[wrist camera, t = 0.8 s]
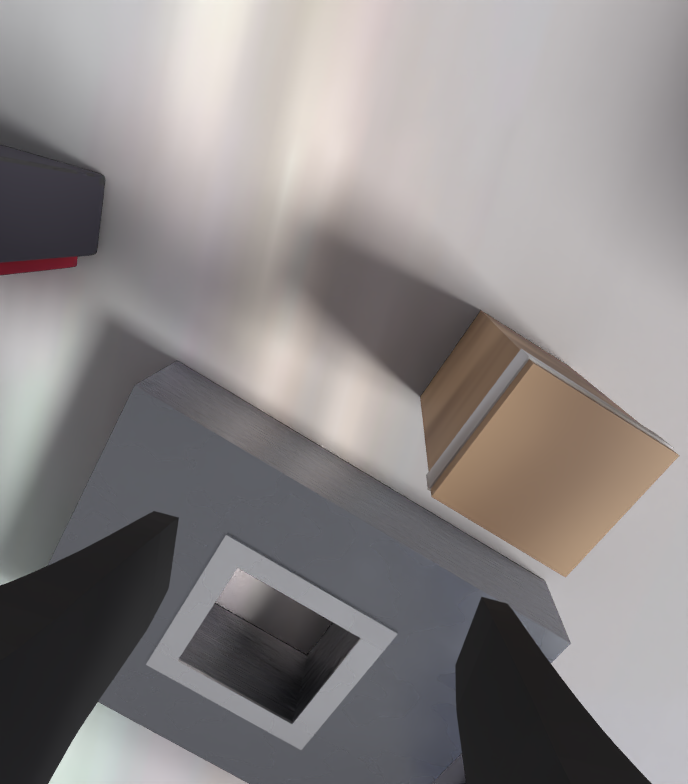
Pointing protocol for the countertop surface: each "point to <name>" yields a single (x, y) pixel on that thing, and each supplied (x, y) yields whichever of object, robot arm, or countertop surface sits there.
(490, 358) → the key peg
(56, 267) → the black rectangular box
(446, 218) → the countertop surface
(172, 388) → the grey peg hole board
